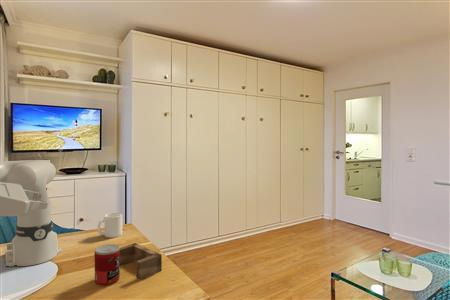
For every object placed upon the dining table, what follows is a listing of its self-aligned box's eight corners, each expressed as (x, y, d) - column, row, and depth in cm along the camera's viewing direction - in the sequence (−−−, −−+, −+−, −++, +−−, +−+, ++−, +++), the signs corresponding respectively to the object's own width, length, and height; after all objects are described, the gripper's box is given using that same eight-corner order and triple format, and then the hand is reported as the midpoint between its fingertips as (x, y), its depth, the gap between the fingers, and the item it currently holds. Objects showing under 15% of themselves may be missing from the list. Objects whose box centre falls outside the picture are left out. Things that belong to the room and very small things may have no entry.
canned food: (111, 287, 88) (110, 253, 88) (89, 284, 90) (88, 251, 89) (124, 276, 96) (124, 245, 95) (104, 273, 97) (103, 243, 97)
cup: (125, 234, 137) (125, 214, 137) (101, 241, 128) (101, 219, 128) (117, 231, 142) (117, 211, 142) (93, 237, 133) (93, 216, 133)
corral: (114, 265, 104) (113, 249, 103) (135, 257, 111) (135, 243, 110) (139, 280, 93) (139, 262, 93) (161, 270, 100) (161, 254, 100)
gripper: (-25, 196, 75) (34, 201, 84) (-26, 219, 60) (46, 223, 69) (-18, 173, 75) (40, 181, 85) (-16, 191, 60) (54, 198, 69)
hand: (43, 200), depth 77 cm, fingers open, 8 cm apart
